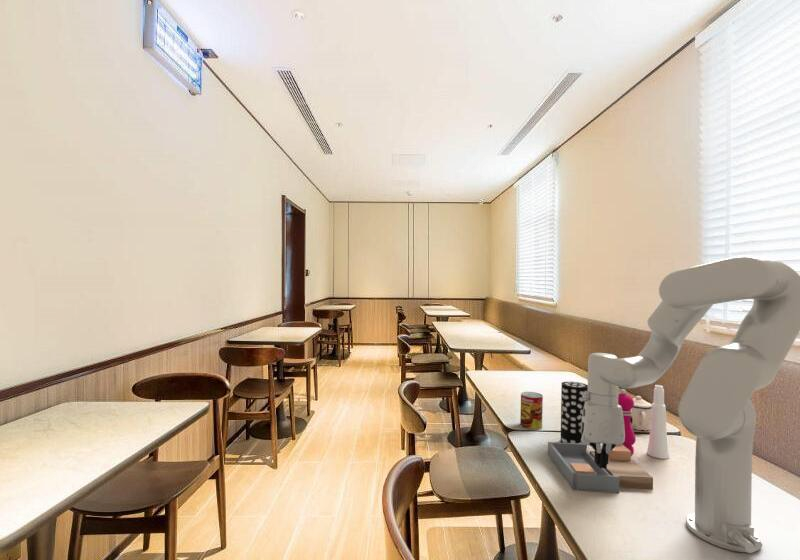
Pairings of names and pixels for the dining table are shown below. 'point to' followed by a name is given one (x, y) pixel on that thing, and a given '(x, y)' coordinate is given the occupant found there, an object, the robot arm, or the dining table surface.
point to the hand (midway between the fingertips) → (601, 466)
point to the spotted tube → (572, 411)
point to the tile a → (582, 468)
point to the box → (578, 454)
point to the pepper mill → (627, 418)
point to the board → (628, 473)
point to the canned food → (531, 410)
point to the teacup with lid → (641, 414)
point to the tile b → (620, 453)
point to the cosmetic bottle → (658, 426)
